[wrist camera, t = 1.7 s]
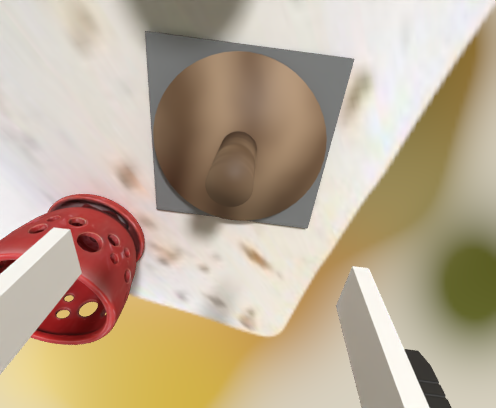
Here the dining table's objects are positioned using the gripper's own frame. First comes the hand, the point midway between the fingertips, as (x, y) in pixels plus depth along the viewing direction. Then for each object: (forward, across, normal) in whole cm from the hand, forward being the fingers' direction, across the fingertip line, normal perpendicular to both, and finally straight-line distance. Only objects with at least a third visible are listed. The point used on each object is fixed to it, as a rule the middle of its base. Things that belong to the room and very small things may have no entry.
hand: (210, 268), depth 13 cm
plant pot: (+18, -16, -14) cm, 28 cm away
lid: (+18, 0, 0) cm, 18 cm away
